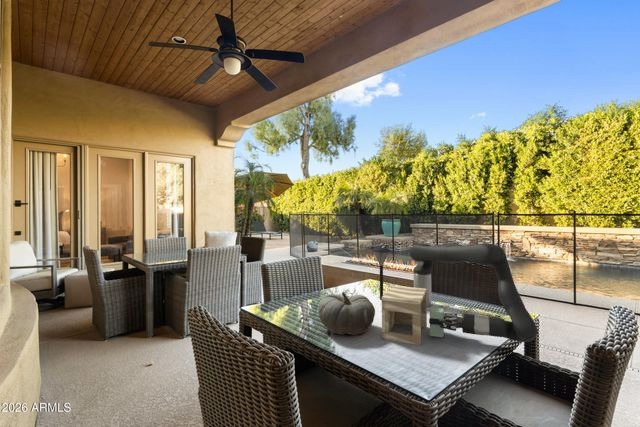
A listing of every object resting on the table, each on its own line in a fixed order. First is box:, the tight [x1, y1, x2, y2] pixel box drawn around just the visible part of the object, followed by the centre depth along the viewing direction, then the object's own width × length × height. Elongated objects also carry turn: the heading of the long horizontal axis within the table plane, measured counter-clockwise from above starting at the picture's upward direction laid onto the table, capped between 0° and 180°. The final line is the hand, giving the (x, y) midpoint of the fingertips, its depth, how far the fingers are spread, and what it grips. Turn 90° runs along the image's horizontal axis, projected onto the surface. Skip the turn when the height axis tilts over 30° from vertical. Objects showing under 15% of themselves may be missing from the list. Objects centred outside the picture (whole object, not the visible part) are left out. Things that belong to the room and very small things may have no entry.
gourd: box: [317, 291, 376, 336], centre depth 141 cm, size 25×25×17 cm
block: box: [429, 307, 445, 338], centre depth 131 cm, size 5×5×10 cm
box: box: [381, 285, 428, 346], centre depth 136 cm, size 20×15×17 cm
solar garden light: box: [370, 246, 392, 301], centre depth 185 cm, size 12×12×30 cm
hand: (430, 318), depth 132 cm, fingers closed on block, 5 cm apart
